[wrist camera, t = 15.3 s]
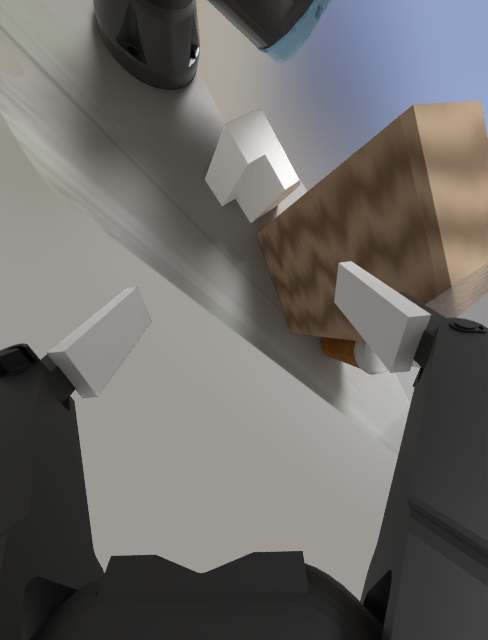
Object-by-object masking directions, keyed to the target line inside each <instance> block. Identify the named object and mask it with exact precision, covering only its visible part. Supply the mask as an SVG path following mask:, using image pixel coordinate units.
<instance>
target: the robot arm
mask: <svg viewBox="0 0 488 640" xmlns="http://www.w3.org/2000/svg"><path fill="white" fill-rule="evenodd" d="M208 1H209V2H210V3H211V4H212V5H213V6H214V7H215V8H216V9H217V10H218V11H220V12H221V13H222V14H223V15H224V16H225V17H226V18H227V19H228V20H229V21H230V22H231V23H232V24H233V25H234V26H235V27H236V28H237V29H238V30H240V31H241V32H242V33H243V34H244V35H245V36H246V37H247V38H248V39H249V40H250V41H251V42H252V43H253V44H254V45H255V46H256V47H257V48H258V49H259V50H260V51H261V52H264V53H266V54H267V55H268V56H270V57H271V58H272V59H274V60H275V61H276V62H279V63H284V62H287V61H289V60H290V59H291V58H293V57H294V56H295V55H296V53H297V52H298V51H299V50H300V49H301V47H302V46H303V45H304V43H305V42H306V41H307V39H308V38H309V36H310V35H311V33H312V32H313V30H314V29H315V27H316V25H317V24H318V21H319V19H320V16H321V14H322V13H323V12H324V10H325V9H326V8H327V6H328V4H329V3H330V1H331V0H208ZM93 3H94V8H95V14H96V19H97V24H98V28H99V31H100V33H101V36H102V38H103V40H104V42H105V44H106V46H107V47H108V49H109V50H110V52H111V53H112V55H113V56H114V57H115V58H116V59H117V61H118V62H119V63H120V64H121V65H122V66H123V67H124V68H125V69H126V70H128V71H129V72H130V73H131V74H133V75H134V76H135V77H137V78H138V79H140V80H142V81H143V82H145V83H147V84H150V85H152V86H155V87H158V88H163V89H177V88H181V87H183V86H185V85H187V84H188V83H189V82H190V81H191V80H192V79H193V77H194V75H195V73H196V70H197V65H198V59H199V52H200V42H199V41H200V40H199V29H198V20H197V19H198V18H197V7H196V0H93ZM334 302H335V304H336V305H337V306H338V307H339V309H340V310H341V311H342V312H343V314H344V315H345V316H346V317H347V319H348V320H349V321H350V322H351V324H352V325H353V326H354V327H355V329H356V330H357V331H358V333H359V334H360V335H361V336H362V338H363V339H364V340H365V341H366V343H367V344H368V345H369V346H370V348H371V349H372V350H373V351H374V353H375V354H376V355H377V356H378V358H379V359H380V360H381V361H382V363H383V364H384V365H385V366H386V368H387V369H388V370H389V371H390V373H393V372H405V371H410V369H411V366H412V363H413V361H414V360H415V361H416V362H417V363H418V364H419V365H420V366H421V367H420V370H419V372H418V375H417V377H416V379H415V382H414V384H413V387H415V388H414V392H413V396H412V401H411V405H410V409H409V413H408V417H407V421H406V426H405V430H404V434H403V438H402V442H401V446H400V451H399V455H398V459H397V463H396V467H395V472H394V476H393V480H392V484H391V488H390V492H389V497H388V501H387V505H386V509H385V513H384V518H383V522H382V526H381V530H380V534H379V539H378V543H377V546H376V549H375V552H374V555H373V558H372V560H371V563H370V566H369V570H368V573H367V577H366V580H365V585H364V589H363V592H362V597H361V601H359V600H358V599H357V598H356V597H355V596H354V595H353V594H352V593H351V592H349V591H348V590H347V589H346V588H345V587H344V586H343V585H342V584H341V583H339V582H338V581H336V580H335V579H334V578H332V577H331V576H330V575H328V574H326V573H325V572H323V571H321V570H319V569H318V568H316V567H313V566H311V565H308V564H305V563H304V557H303V552H302V551H291V552H290V551H288V552H253V553H251V554H248V555H246V556H244V557H241V558H239V559H237V560H234V561H232V562H229V563H227V564H225V565H223V566H220V567H218V568H215V569H213V570H210V571H208V572H206V573H197V572H195V571H192V570H190V569H188V568H185V567H183V566H181V565H178V564H176V563H174V562H171V561H169V560H166V559H164V558H162V557H160V556H157V555H132V556H111V558H110V561H109V563H108V566H107V569H106V572H105V573H104V571H103V569H102V567H101V565H100V563H99V562H98V560H97V558H96V556H95V553H94V549H93V544H92V535H91V527H90V520H89V512H88V504H87V496H86V488H85V481H84V473H83V465H82V458H81V449H80V442H79V434H78V426H77V418H76V411H75V403H74V400H73V399H72V398H71V396H70V395H71V394H72V392H73V391H74V390H75V389H76V391H77V392H78V393H79V394H80V396H81V397H82V398H88V397H98V396H99V394H100V393H101V391H102V390H103V389H104V387H105V386H106V384H107V383H108V382H109V380H110V379H111V377H112V376H113V375H114V373H115V372H116V371H117V369H118V368H119V366H120V365H121V364H122V362H123V361H124V360H125V358H126V357H127V355H128V354H129V353H130V351H131V350H132V348H133V347H134V346H135V344H136V343H137V341H138V340H139V339H140V337H141V336H142V334H143V333H144V332H145V330H146V329H147V327H148V326H149V325H150V323H151V319H150V316H149V314H148V312H147V309H146V307H145V304H144V302H143V300H142V297H141V295H140V293H139V290H138V288H137V287H132V288H126V289H125V290H123V291H122V292H121V293H120V294H118V295H117V296H116V297H115V298H114V299H112V300H111V301H110V302H109V303H107V304H106V305H105V306H104V307H103V308H101V309H100V310H99V311H98V312H96V313H95V314H94V315H93V316H91V317H90V318H89V319H88V320H87V321H85V322H84V323H83V324H82V325H80V326H79V327H78V328H77V329H76V330H74V331H73V332H72V333H71V334H70V335H68V336H67V337H66V338H65V339H63V340H62V341H61V342H60V343H58V344H57V345H56V346H55V347H53V348H52V349H51V350H50V351H49V352H47V355H46V356H45V357H43V358H42V359H41V360H40V359H39V358H38V357H37V355H36V354H35V353H34V352H33V351H32V350H31V348H30V347H29V346H28V345H27V344H17V345H14V346H11V347H8V348H5V349H3V350H0V640H488V328H487V327H485V326H484V325H482V324H480V323H477V322H475V321H471V320H467V319H462V318H445V317H444V316H442V315H441V314H439V313H438V312H436V311H434V310H433V309H431V308H430V307H428V306H425V304H423V303H422V302H419V300H417V299H415V298H414V297H412V296H411V295H408V294H405V293H402V292H397V291H395V290H394V289H392V288H391V287H389V286H388V285H386V284H385V283H383V282H382V281H380V280H379V279H377V278H376V277H374V276H373V275H371V274H370V273H368V272H367V271H365V270H364V269H362V268H361V267H359V266H358V265H356V264H355V263H353V262H352V261H349V262H341V263H338V273H337V282H336V291H335V300H334Z"/></svg>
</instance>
